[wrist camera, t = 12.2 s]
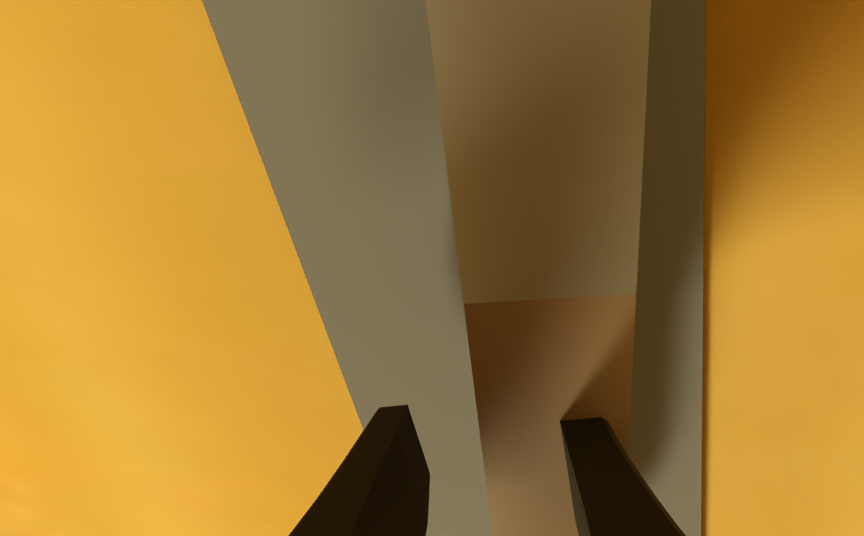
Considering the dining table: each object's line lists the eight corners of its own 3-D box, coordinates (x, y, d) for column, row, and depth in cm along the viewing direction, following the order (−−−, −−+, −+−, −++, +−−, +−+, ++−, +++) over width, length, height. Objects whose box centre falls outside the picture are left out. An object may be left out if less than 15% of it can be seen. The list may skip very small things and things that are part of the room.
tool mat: (695, 591, 18) (700, 607, 17) (432, 593, 20) (430, 608, 19) (697, -299, 8) (708, -315, 8) (169, -124, 10) (154, -128, 9)
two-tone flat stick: (594, -90, 9) (658, -130, 5) (590, 534, 16) (616, 686, 13) (445, -65, 9) (414, -87, 6) (507, 533, 17) (510, 681, 13)
